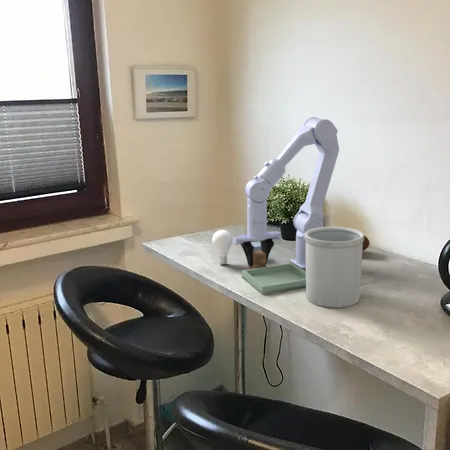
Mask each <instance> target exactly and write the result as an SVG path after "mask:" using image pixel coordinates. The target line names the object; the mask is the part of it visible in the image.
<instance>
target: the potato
mask: <svg viewBox="0 0 450 450" xmlns="http://www.w3.org/2000/svg"><path fill="white" fill-rule="evenodd" d="M370 243H371V242H370V240H369V238H368V237H367V236H366V235H364V241H363V247H362V252H364V251H366V250H367V249H369V247H370Z"/></svg>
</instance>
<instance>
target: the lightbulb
mask: <svg viewBox="0 0 450 450" xmlns="http://www.w3.org/2000/svg"><path fill="white" fill-rule="evenodd" d="M233 237H234V236H233V235H232V233H231V232H229V230H226V229H219V230H217V231H216V232H214V233H213V235H212V238H211V242H212V245H213V247H214V248H215V250H216V252H217V255H218V264H220V265H222V266H223V265H226V264H227V263H228V255H229V250H230V249H231V247H232V245H233V244H234V243H233Z"/></svg>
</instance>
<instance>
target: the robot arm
mask: <svg viewBox="0 0 450 450" xmlns="http://www.w3.org/2000/svg"><path fill="white" fill-rule="evenodd" d="M338 131H339V130H338V129H337V127H336V126H335V124H334V123H333V122H332V121H331V120H329V119H325V118H324V119H322V118H319V117H316V116H315V117H313V116H312V117H309V118H307V119H306V120H305V121H304V123H303V124H301V126H299V128H298V129H297V131H296V133H295V134H294V135H293V136H292V138H291V139H290V140H289V141H288V143H287V144H286V146H285V147H284V148H283V150H282V151H281V152H280V153H279V155H278V156H277V157H276V158H273V159H270V160H269V161H265V162H264V163H263V165H264V166H263V168H262V169H261V170H260V171H259V172H258V174H257V175H256V174H255V175H254V176H253V179H251V180H249V181H248V182H247V183H246V185H245V188H244V190H243V192H244V193H245V195H246V197H247V199H246V200H247V205H246V218H247V219H246V220H247V222H246V223H247V224H246V225H247V230H246V231H247V233H246V234H242V235H238V236H232V237H233V243H232V244H234V245H235V246H239V245H240V247H241V248H242V250H243V252H244V255H245V258H246V262H247V266H248V267H249V266H250V267H251V266H253V250H254V246H252V244H251V243H257V242H259V243H261V251H262V252H264V253H265V254H266V265H267V263H268V259H269V256H270V254H271V252H272V249H273V248H274V246H275V241H273V240H281V239H282V238H281V232H280V231H278V230H277V231H267V230H268V227H267V225H268V223H267V222H268V221H267V219H268V218H267V217H268V216H267V215H268V213H267V210H268V207H267V199H268V198H270V195H271V189H273V187H274V186H275V185H276V184H277V183H278V182H279V180H280V179H281V178H282V177H283V176H284V174H286V166H287V165H288V164H289V163H290V162H291V161H292V160H293V159H294V158H295V157H296V156H297V155H298V153H299V152H301V150H302V149H303V148H304V147H305V146H311V145H315V147H316V148H317V150H318V152H319V153H318V157H317V160H316V164H315V166H314V170H313V174H312V177H311V180H310V184H309V186H308V187H309V188H308V192H307V194H306V198H305V202H304V203H303V204H301V206H300V207H299V210H298V212H297V213H296V214H295V216H294V218H293V220H292V221H293V226H294V228H295V229H296V234H295V258H294V259H293V258H292V259H290V263H293V264H294V265H296V266H297V267H299V268H300V269H302V270H304V269H306V240H305V232H306V231H308V230H310V229H314V228H319V227H325V226H324V218H325V214H324V210H323V206H324V203H325V201H326V198H327V197H326V196H327V193H328V191H329V190H328V189H329V185H330V183H331V179H332V176H333V173H334V170H335V166H336V162H337V159H338V156H339V152H340V146H339V140H338Z"/></svg>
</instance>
